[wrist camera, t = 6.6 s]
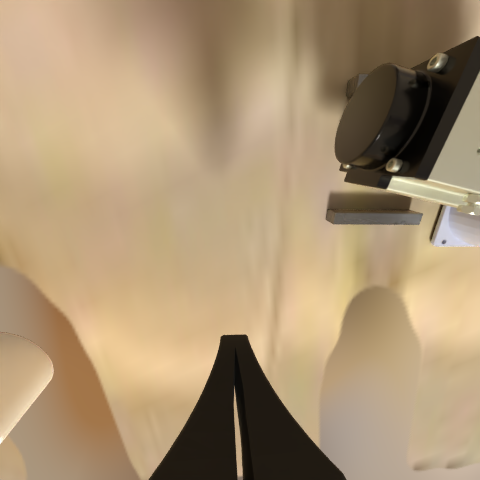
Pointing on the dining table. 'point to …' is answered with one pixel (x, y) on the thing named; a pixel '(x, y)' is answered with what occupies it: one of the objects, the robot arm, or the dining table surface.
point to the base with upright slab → (20, 378)
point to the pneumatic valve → (417, 130)
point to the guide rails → (371, 215)
